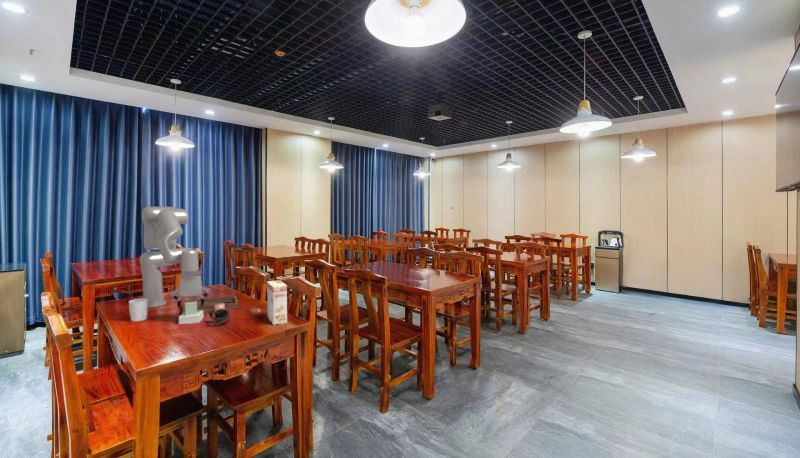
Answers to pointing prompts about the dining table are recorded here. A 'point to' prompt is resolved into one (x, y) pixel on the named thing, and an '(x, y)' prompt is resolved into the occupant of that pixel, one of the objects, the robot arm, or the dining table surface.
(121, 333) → the dining table surface
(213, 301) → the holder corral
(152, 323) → the dining table surface
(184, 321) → the base slab
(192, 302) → the green block
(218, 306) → the glossy beige egg
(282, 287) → the coffeecake box
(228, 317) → the pottery mug
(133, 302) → the white cup
